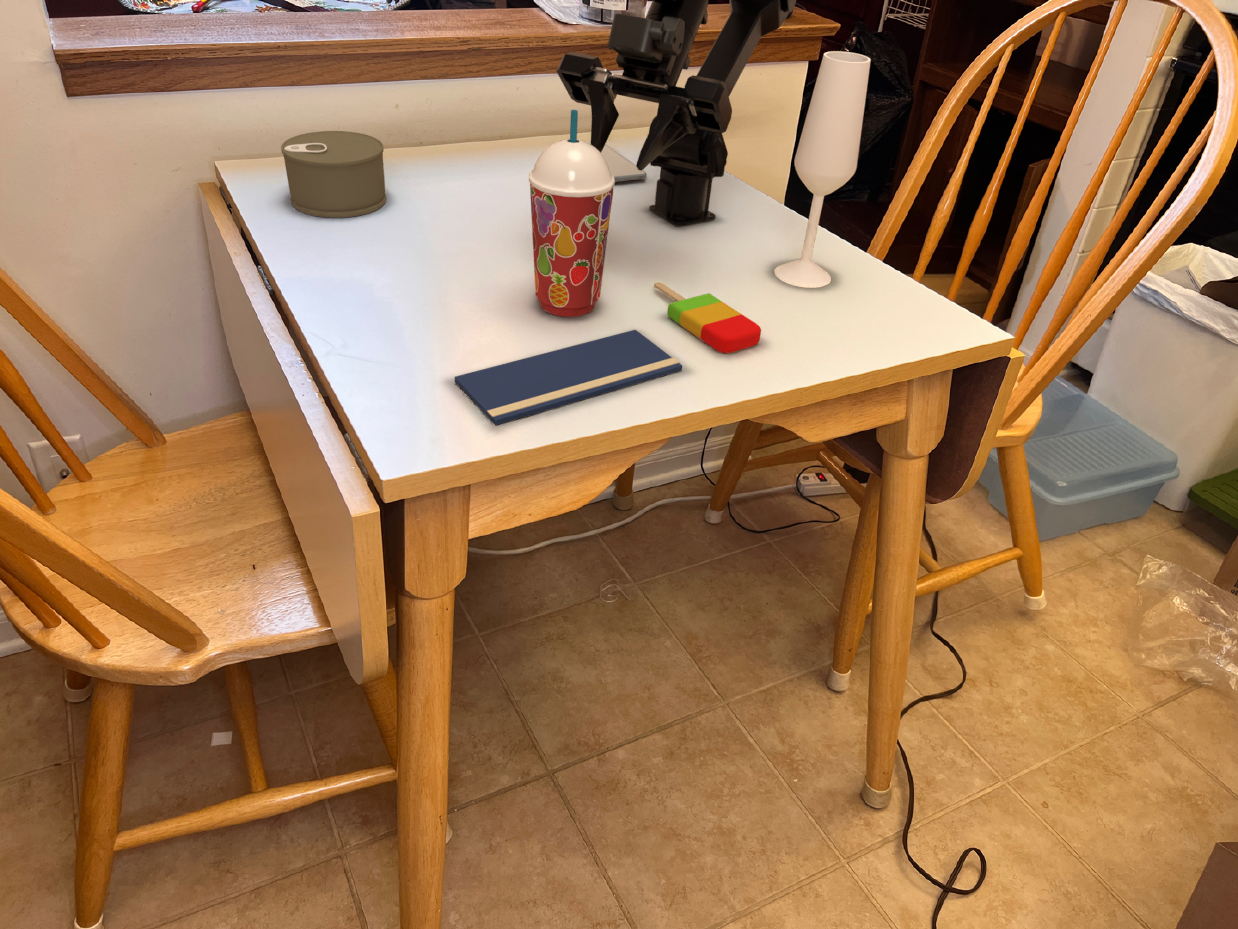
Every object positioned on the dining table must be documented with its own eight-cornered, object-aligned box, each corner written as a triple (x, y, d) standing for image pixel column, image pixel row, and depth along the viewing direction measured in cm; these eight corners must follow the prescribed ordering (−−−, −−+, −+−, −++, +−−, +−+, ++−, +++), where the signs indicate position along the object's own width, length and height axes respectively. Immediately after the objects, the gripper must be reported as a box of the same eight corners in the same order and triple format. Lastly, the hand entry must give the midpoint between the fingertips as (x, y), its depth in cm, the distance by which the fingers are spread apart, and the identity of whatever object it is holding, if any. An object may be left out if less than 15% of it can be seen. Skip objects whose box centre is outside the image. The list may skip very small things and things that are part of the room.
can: (394, 215, 113) (389, 159, 109) (292, 221, 109) (284, 164, 105) (380, 181, 122) (376, 128, 118) (286, 186, 118) (278, 132, 114)
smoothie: (621, 303, 98) (636, 110, 86) (577, 332, 92) (586, 130, 80) (558, 280, 101) (563, 92, 89) (511, 307, 95) (510, 110, 83)
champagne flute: (796, 258, 111) (838, 46, 96) (842, 277, 107) (893, 60, 93) (762, 272, 107) (800, 53, 92) (809, 293, 103) (856, 68, 89)
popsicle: (722, 357, 90) (725, 340, 89) (635, 295, 99) (636, 279, 98) (764, 344, 93) (767, 328, 91) (675, 285, 102) (677, 270, 101)
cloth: (634, 334, 92) (635, 328, 92) (682, 370, 87) (682, 364, 87) (454, 382, 83) (454, 375, 82) (495, 426, 78) (495, 419, 77)
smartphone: (604, 142, 139) (649, 173, 128) (604, 148, 139) (648, 180, 128) (553, 146, 135) (595, 178, 125) (553, 152, 136) (594, 185, 125)
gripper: (568, -34, 93) (511, 102, 92) (738, -7, 87) (681, 139, 86) (599, 37, 104) (548, 159, 102) (753, 65, 98) (702, 196, 96)
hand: (615, 162), depth 96 cm, fingers open, 5 cm apart
